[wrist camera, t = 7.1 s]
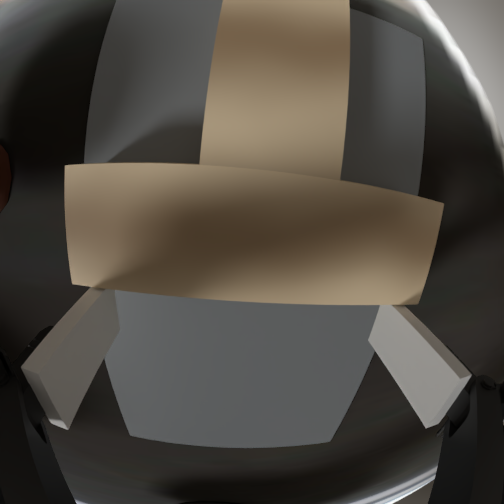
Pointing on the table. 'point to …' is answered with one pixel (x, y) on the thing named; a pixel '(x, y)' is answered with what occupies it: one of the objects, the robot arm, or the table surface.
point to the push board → (237, 312)
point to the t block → (257, 184)
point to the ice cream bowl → (4, 177)
